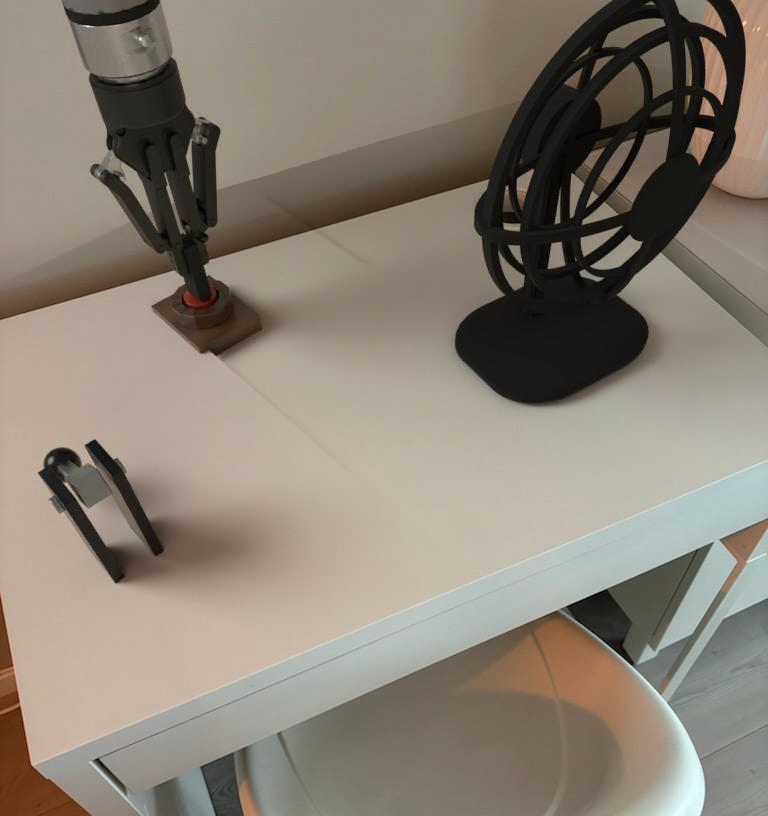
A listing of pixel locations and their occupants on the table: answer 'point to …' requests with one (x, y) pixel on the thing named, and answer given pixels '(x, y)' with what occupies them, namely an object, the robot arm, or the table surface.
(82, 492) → the lever
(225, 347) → the button block
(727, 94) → the desk fan
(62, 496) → the bracket
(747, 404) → the table surface
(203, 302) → the button
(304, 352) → the table surface
